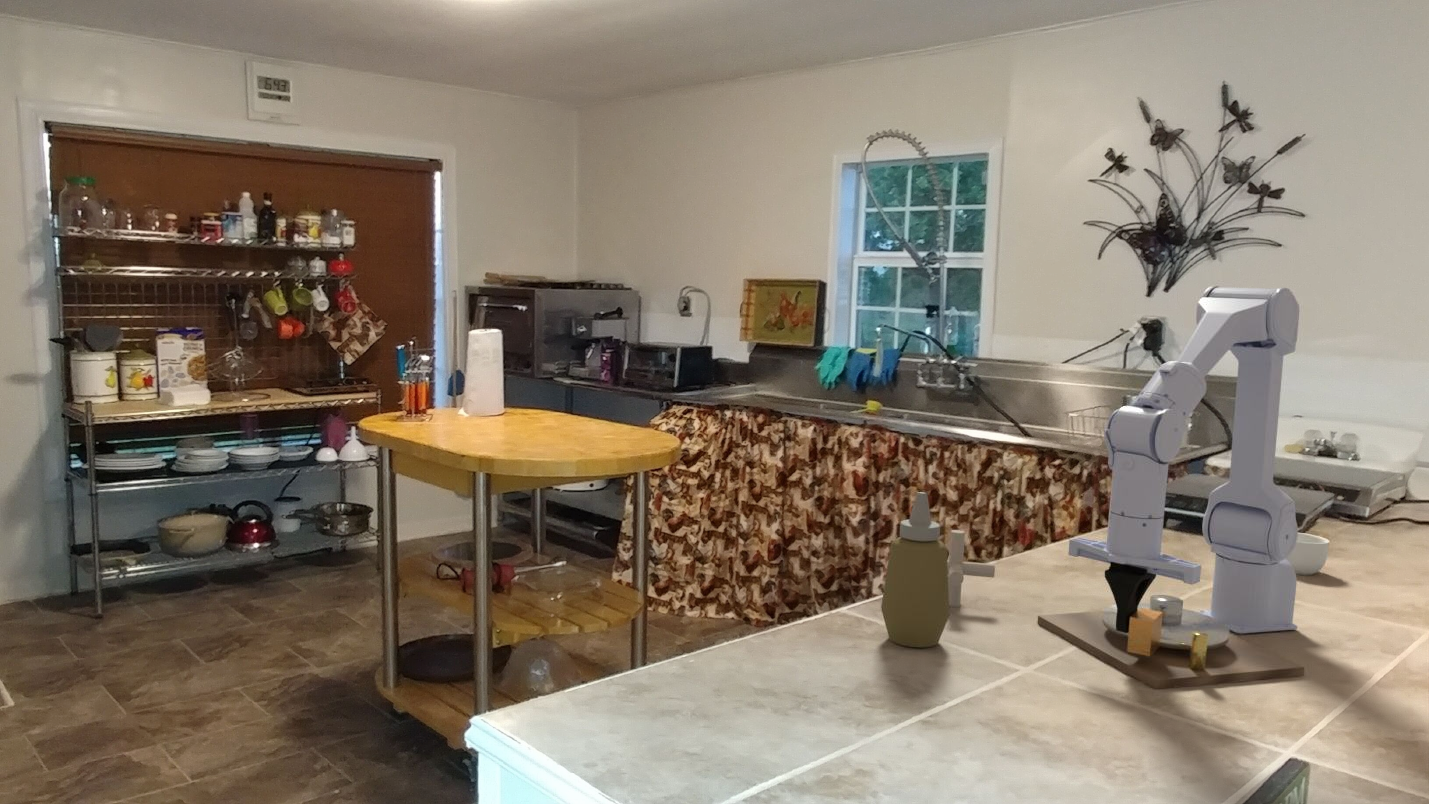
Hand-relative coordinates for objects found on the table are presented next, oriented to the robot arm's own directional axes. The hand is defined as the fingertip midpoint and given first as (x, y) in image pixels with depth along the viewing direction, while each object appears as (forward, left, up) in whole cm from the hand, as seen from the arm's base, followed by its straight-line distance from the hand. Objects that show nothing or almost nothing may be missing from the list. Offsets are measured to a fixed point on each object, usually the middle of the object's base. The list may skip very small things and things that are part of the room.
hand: (1125, 630), depth 119 cm
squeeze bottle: (+20, -12, -4) cm, 24 cm away
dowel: (-6, +5, -4) cm, 9 cm away
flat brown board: (-9, -4, -4) cm, 10 cm away
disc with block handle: (-7, -3, -2) cm, 8 cm away
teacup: (-55, -31, -4) cm, 63 cm away
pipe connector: (+8, -24, -4) cm, 26 cm away
